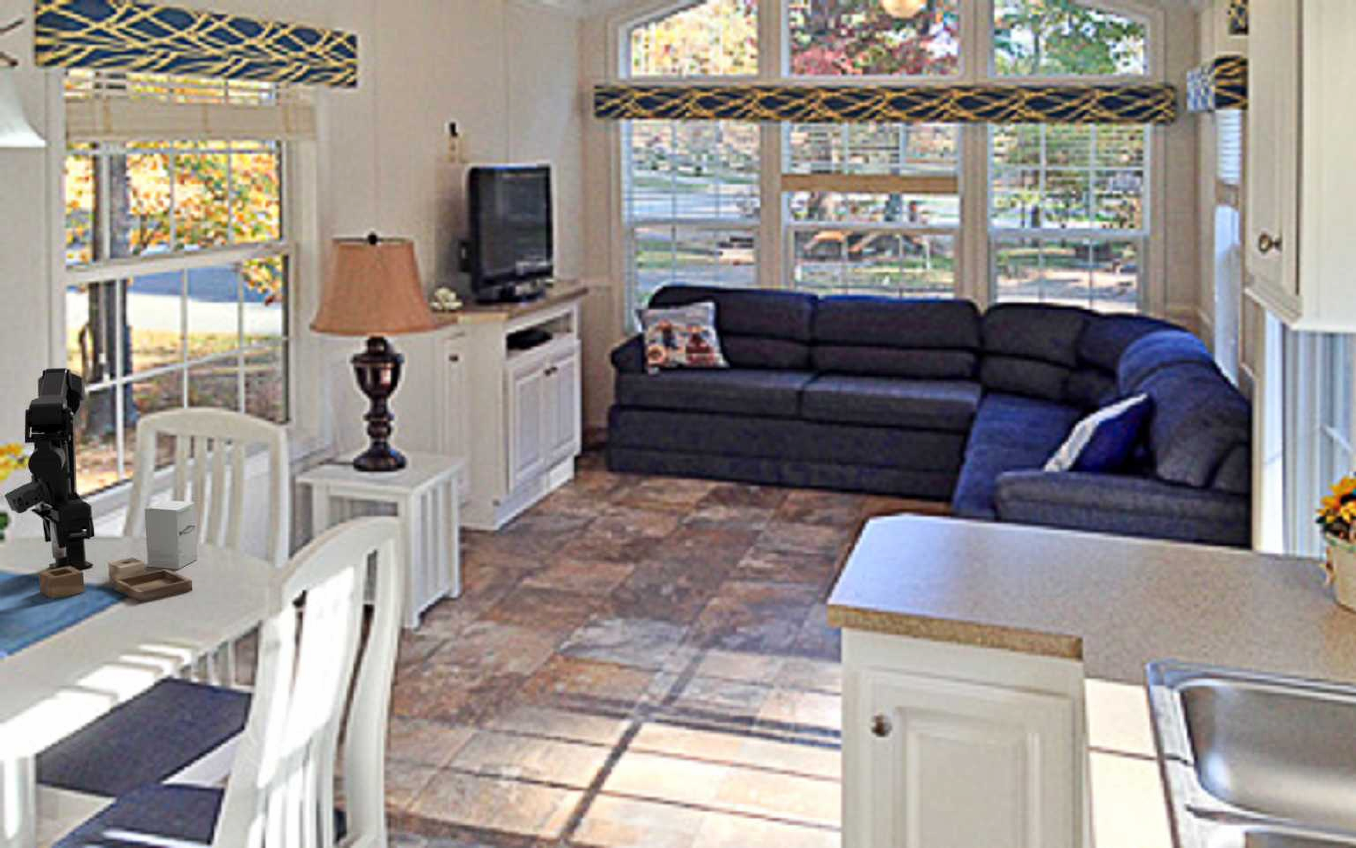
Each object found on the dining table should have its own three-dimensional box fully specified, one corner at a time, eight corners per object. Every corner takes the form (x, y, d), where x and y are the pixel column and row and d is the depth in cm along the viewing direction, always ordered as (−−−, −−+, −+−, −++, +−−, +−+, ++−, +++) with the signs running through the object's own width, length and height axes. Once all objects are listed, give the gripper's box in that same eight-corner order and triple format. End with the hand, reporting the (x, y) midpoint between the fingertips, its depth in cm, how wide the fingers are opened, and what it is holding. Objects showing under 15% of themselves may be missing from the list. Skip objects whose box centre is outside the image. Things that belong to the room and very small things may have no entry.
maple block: (109, 582, 267) (108, 562, 267) (133, 576, 271) (132, 557, 270) (121, 587, 264) (120, 567, 263) (145, 581, 268) (144, 562, 267)
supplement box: (179, 570, 275) (175, 510, 273) (146, 567, 277) (142, 508, 274) (199, 559, 282) (195, 501, 280) (167, 557, 284) (163, 499, 281)
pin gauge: (50, 556, 259) (47, 513, 257) (63, 553, 261) (59, 511, 259) (55, 559, 257) (52, 516, 256) (68, 556, 259) (64, 513, 257)
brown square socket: (40, 592, 260) (38, 572, 259) (71, 585, 265) (69, 565, 264) (53, 599, 256) (51, 579, 255) (84, 592, 261) (83, 572, 260)
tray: (114, 590, 262) (113, 580, 262) (166, 578, 270) (166, 568, 269) (139, 602, 255) (138, 592, 255) (192, 590, 263) (191, 580, 262)
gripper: (-11, 466, 256) (-4, 544, 259) (28, 483, 244) (35, 565, 247) (48, 457, 264) (55, 533, 267) (90, 473, 252) (96, 553, 255)
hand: (58, 546), depth 259 cm, fingers closed on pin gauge, 2 cm apart
